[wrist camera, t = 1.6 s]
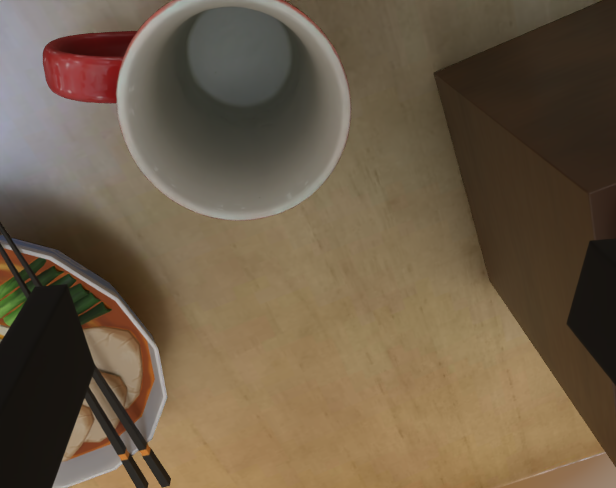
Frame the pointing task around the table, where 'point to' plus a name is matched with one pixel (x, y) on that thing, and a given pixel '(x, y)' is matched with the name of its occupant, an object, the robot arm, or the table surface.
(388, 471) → the table surface
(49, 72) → the mug
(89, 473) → the ramen bowl
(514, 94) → the riser
